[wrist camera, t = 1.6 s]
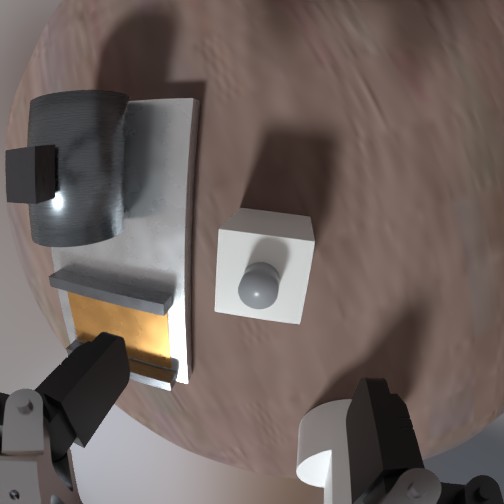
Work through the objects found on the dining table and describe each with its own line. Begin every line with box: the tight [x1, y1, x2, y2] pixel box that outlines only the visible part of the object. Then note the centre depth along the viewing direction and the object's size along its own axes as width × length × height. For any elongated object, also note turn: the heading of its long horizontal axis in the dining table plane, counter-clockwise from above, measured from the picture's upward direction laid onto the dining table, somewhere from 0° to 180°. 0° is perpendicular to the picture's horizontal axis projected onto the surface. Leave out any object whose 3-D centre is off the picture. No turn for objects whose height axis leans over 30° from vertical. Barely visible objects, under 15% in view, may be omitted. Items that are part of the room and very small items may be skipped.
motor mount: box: [6, 90, 200, 391], centre depth 19 cm, size 24×14×10 cm, turn 175°
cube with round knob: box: [215, 208, 315, 324], centre depth 18 cm, size 5×5×8 cm
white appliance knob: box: [296, 399, 352, 504], centre depth 22 cm, size 9×9×12 cm
